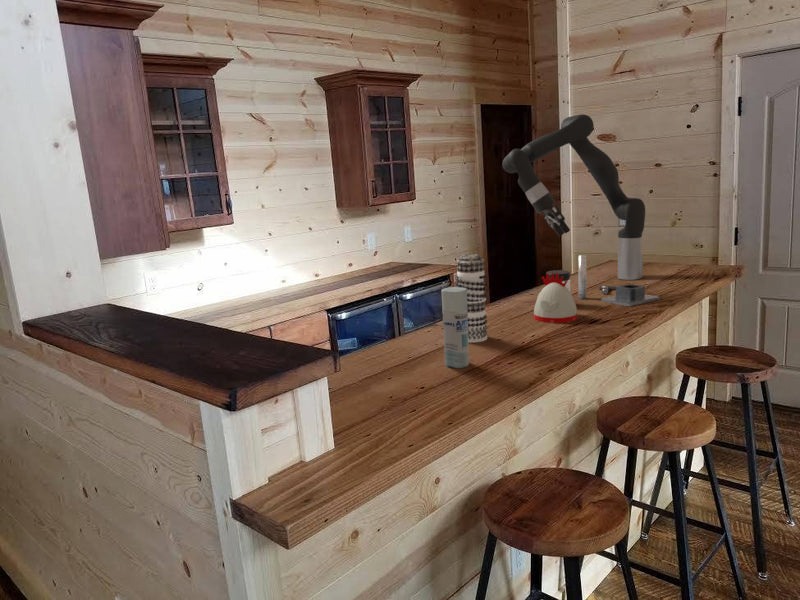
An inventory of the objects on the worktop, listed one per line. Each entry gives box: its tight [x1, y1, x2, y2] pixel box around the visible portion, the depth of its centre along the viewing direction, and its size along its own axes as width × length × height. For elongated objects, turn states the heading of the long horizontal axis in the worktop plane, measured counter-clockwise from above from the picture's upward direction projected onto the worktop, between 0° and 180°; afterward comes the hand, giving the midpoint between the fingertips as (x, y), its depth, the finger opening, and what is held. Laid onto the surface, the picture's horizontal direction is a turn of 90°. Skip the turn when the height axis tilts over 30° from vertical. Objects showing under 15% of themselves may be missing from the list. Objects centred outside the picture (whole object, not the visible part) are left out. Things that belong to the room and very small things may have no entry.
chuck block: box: [600, 283, 660, 307], centre depth 222 cm, size 16×12×5 cm
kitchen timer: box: [533, 272, 578, 324], centre depth 203 cm, size 14×14×15 cm
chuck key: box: [599, 285, 617, 295], centre depth 238 cm, size 10×6×2 cm, turn 155°
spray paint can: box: [440, 286, 470, 369], centre depth 161 cm, size 6×6×20 cm
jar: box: [545, 269, 571, 292], centre depth 220 cm, size 9×8×12 cm
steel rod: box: [577, 254, 587, 300], centre depth 228 cm, size 3×3×16 cm
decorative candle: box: [454, 253, 488, 343], centre depth 184 cm, size 9×9×25 cm
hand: (564, 233), depth 231 cm, fingers open, 8 cm apart
